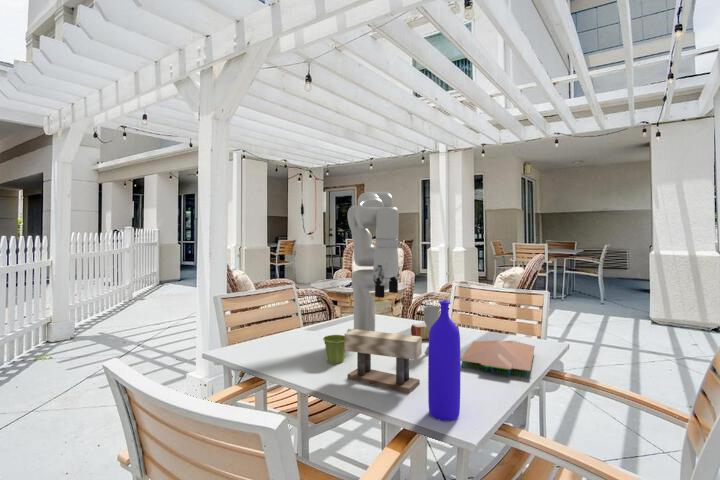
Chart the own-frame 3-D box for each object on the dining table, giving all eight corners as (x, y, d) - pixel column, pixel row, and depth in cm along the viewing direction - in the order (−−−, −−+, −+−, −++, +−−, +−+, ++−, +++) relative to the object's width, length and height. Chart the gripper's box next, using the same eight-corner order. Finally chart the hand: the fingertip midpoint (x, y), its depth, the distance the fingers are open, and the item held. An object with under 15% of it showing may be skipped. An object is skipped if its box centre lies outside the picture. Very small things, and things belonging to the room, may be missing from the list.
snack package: (453, 335, 177) (453, 321, 177) (460, 339, 171) (460, 324, 170) (410, 337, 173) (410, 322, 173) (415, 341, 167) (415, 326, 167)
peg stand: (347, 378, 124) (347, 350, 124) (360, 371, 131) (360, 343, 131) (409, 393, 113) (409, 361, 112) (419, 384, 120) (419, 354, 119)
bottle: (424, 407, 104) (424, 298, 103) (454, 406, 104) (454, 298, 104) (433, 422, 95) (433, 304, 95) (464, 421, 96) (465, 303, 96)
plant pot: (351, 358, 144) (351, 336, 144) (342, 367, 135) (342, 342, 135) (329, 356, 147) (329, 333, 147) (318, 364, 138) (318, 340, 138)
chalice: (440, 356, 147) (440, 309, 146) (422, 354, 148) (422, 309, 148) (439, 350, 154) (440, 306, 154) (423, 349, 155) (423, 305, 155)
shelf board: (344, 350, 123) (344, 333, 123) (352, 345, 129) (352, 329, 129) (416, 360, 114) (416, 342, 114) (421, 353, 120) (421, 336, 120)
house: (457, 371, 131) (457, 348, 131) (475, 346, 161) (475, 327, 161) (529, 383, 121) (530, 358, 121) (534, 354, 150) (534, 333, 150)
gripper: (389, 242, 136) (388, 290, 136) (364, 245, 121) (363, 298, 122) (408, 243, 132) (407, 292, 133) (384, 245, 117) (384, 300, 118)
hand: (386, 294), depth 127 cm, fingers open, 9 cm apart
